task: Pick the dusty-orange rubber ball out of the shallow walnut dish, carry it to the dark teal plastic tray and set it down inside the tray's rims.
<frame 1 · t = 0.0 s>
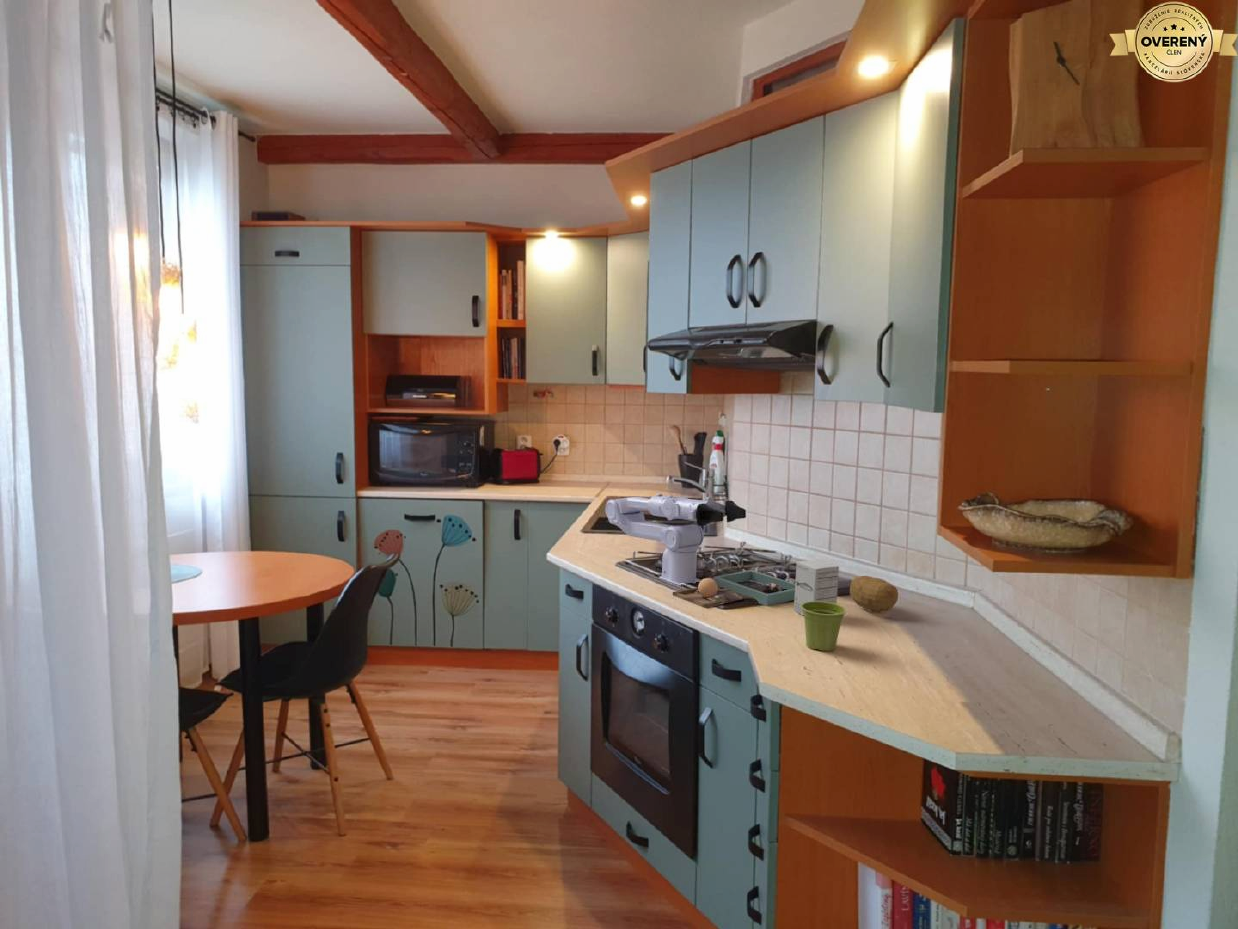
hand: (733, 515, 207), 22 cm above the countertop, tool horizontal, fingers open, 7 cm apart
dish: (707, 599, 209), on the countertop
ball: (707, 597, 209), resting on dish
tray: (758, 593, 215), on the countertop
plant pot: (821, 647, 177), on the countertop
supplement box: (814, 615, 199), on the countertop
potato: (871, 610, 203), on the countertop
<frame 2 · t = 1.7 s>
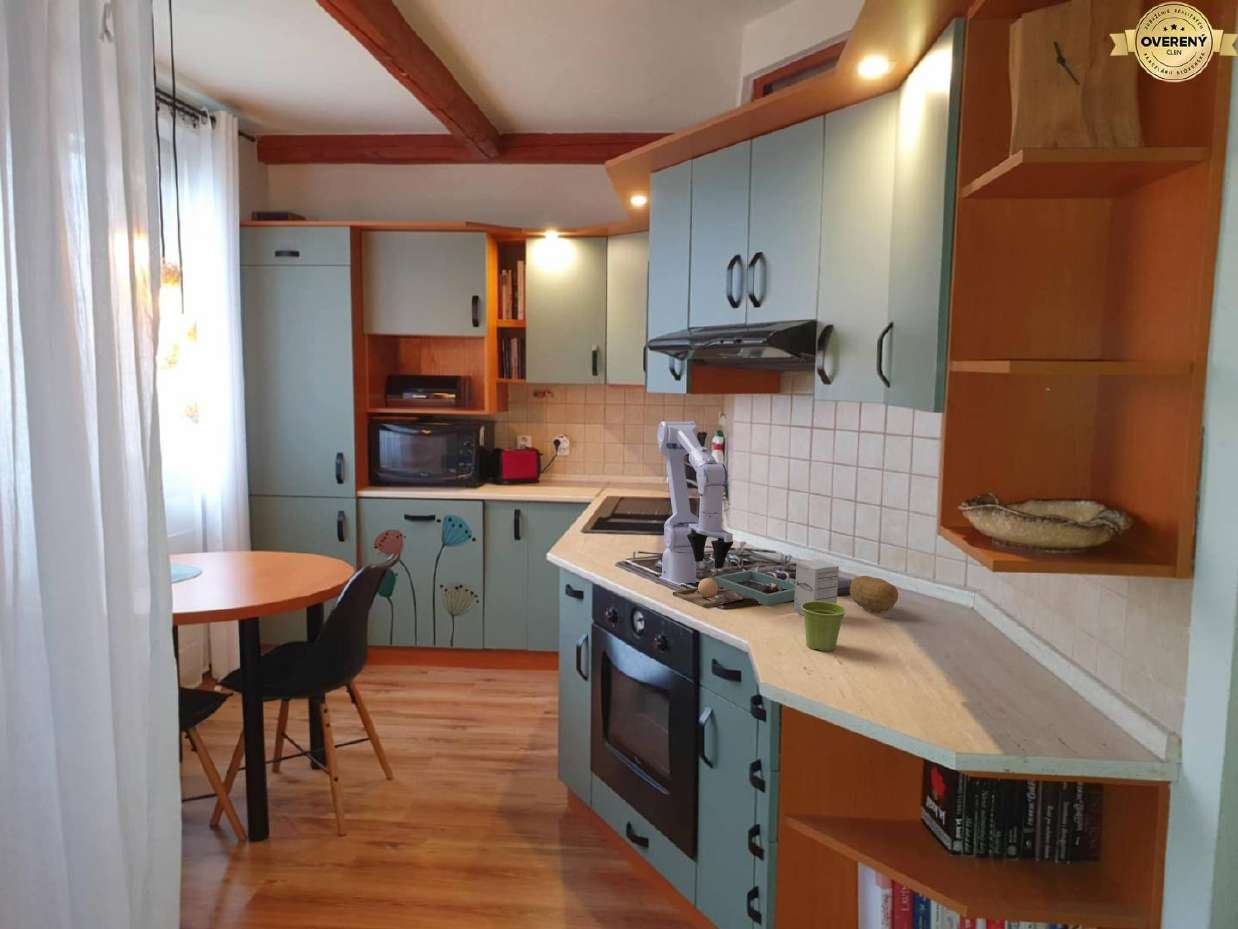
hand: (708, 564, 208), 9 cm above the countertop, tool pointing down, fingers open, 7 cm apart
nothing on the countertop moved.
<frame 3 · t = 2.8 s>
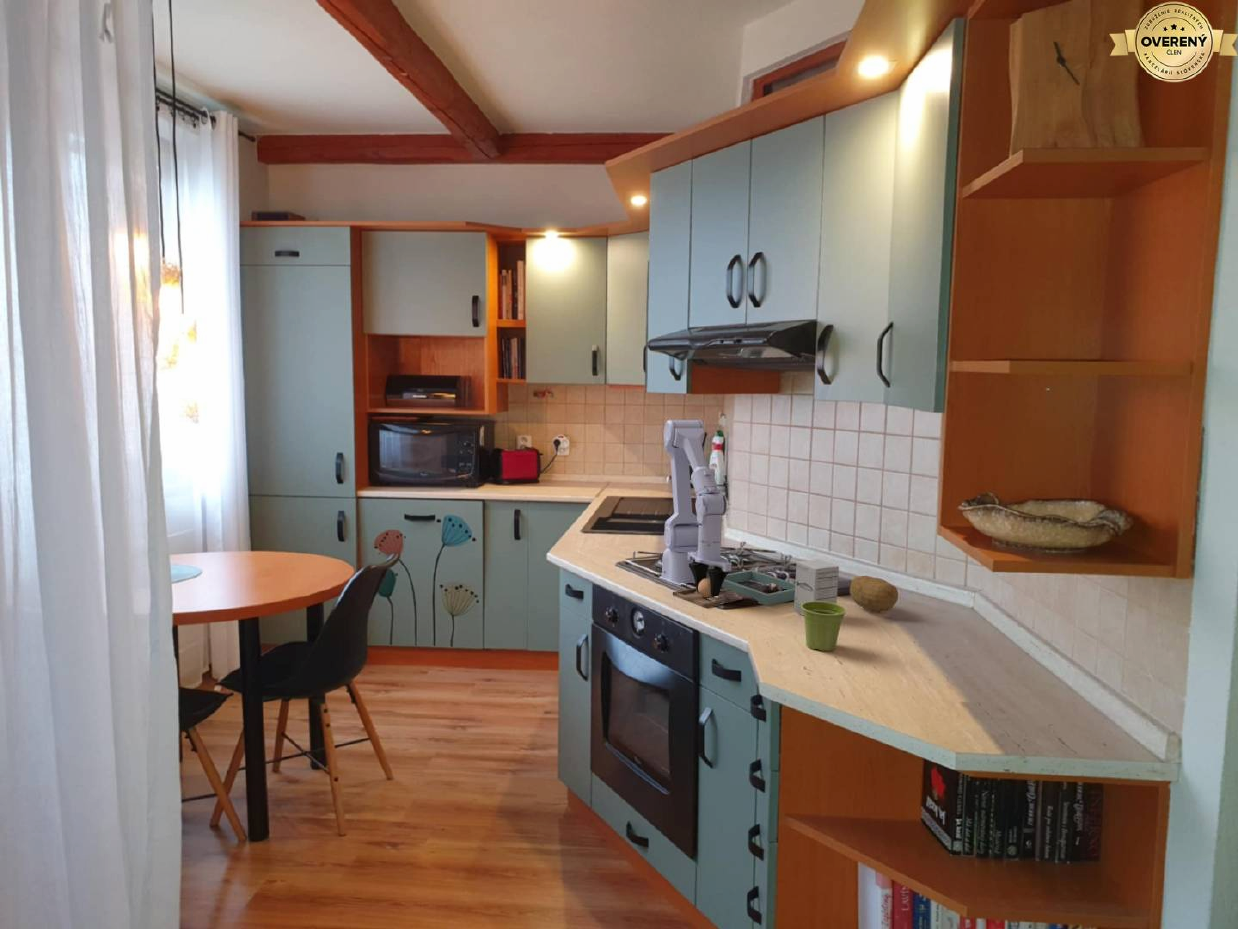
hand: (707, 593, 209), 2 cm above the countertop, tool pointing down, fingers closed on ball, 5 cm apart
ball: (707, 597, 209), resting on dish, touching gripper
everything else where it was.
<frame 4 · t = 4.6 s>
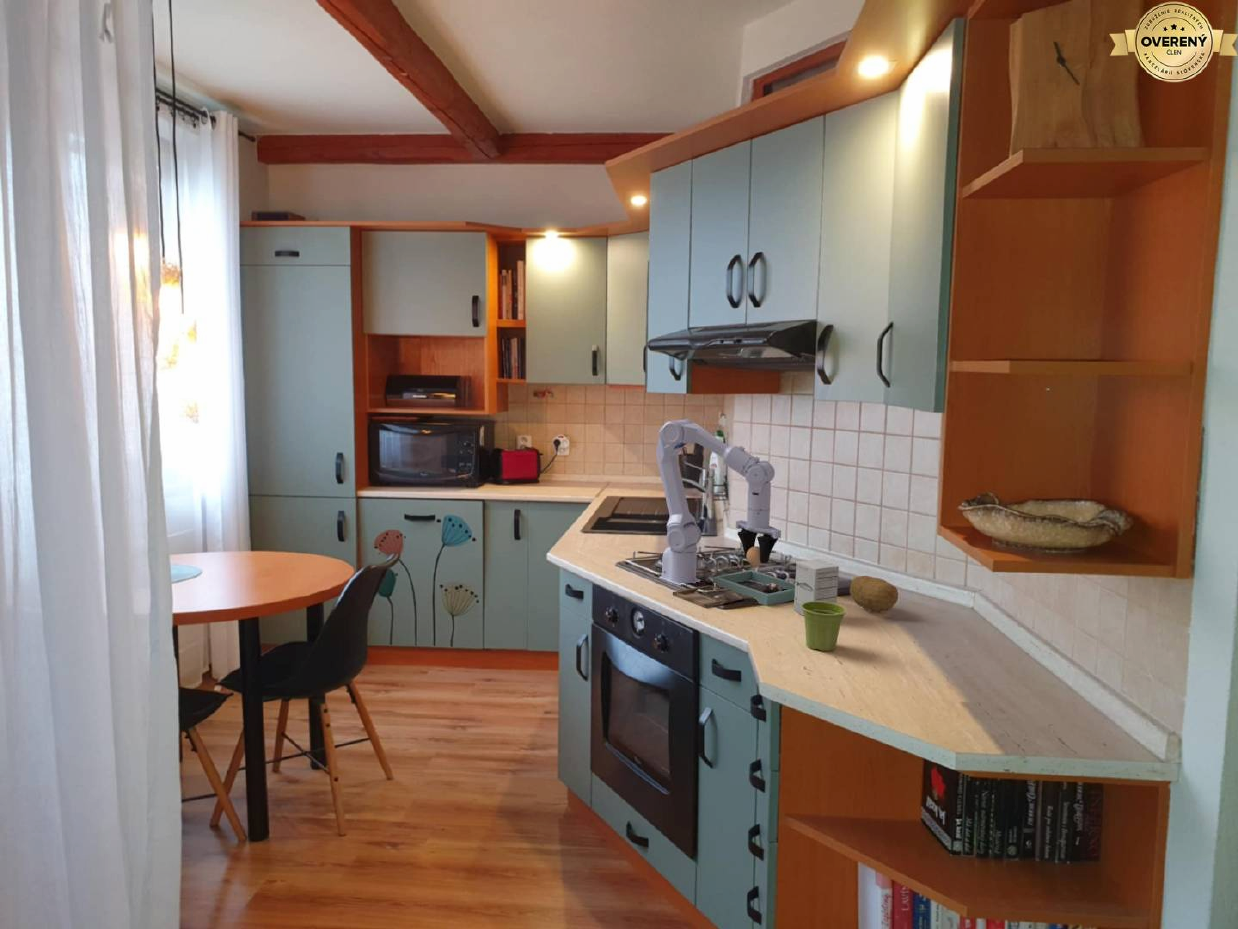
hand: (756, 560, 213), 9 cm above the countertop, tool pointing down, fingers closed on ball, 5 cm apart
ball: (755, 565, 213), point 8 cm above the countertop, touching gripper
everything else where it was.
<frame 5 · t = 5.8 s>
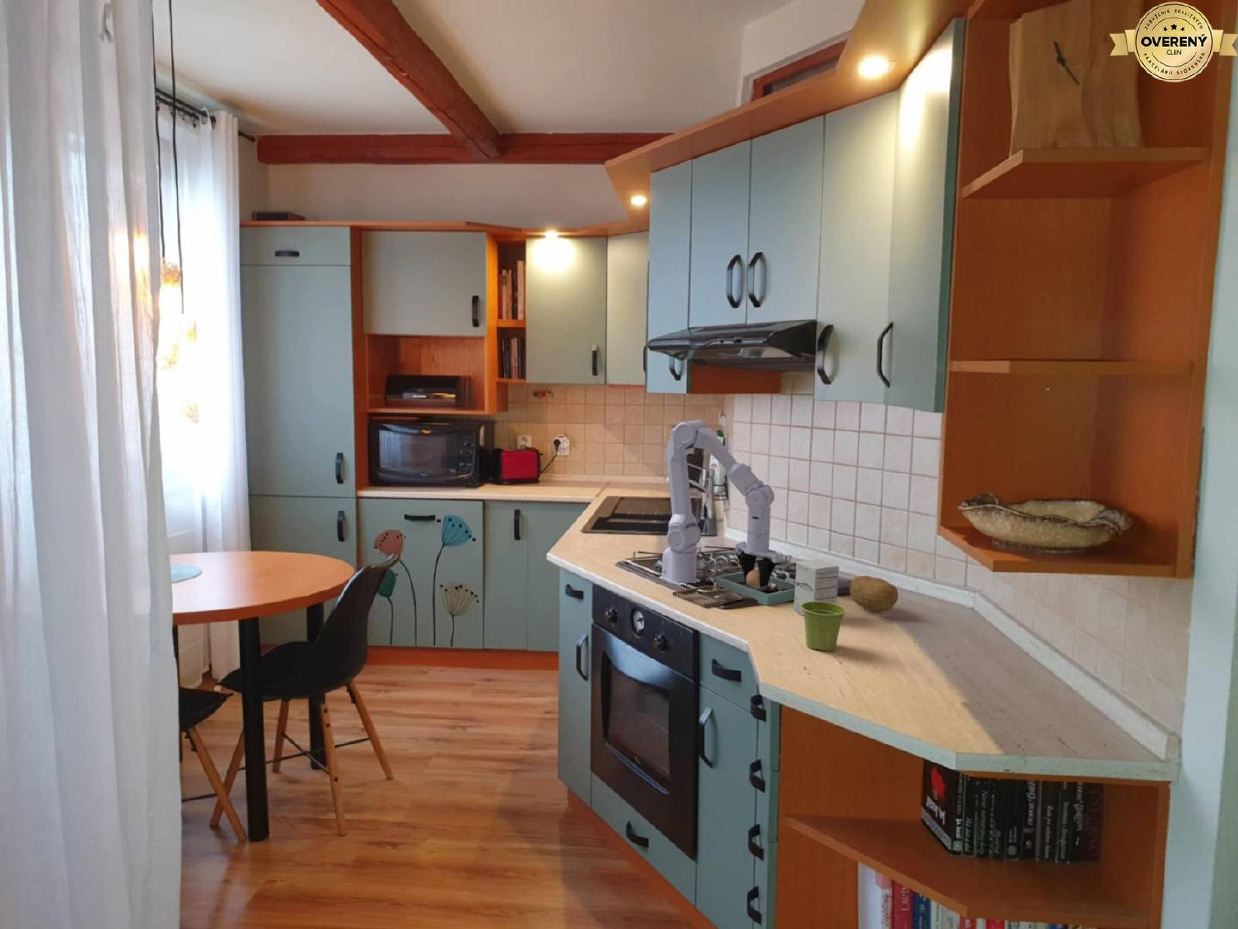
hand: (756, 583, 214), 3 cm above the countertop, tool pointing down, fingers closed on ball, 5 cm apart
ball: (755, 588, 214), point 1 cm above the countertop, touching gripper
everything else where it was.
when the fingers open (3 cm above the countertop, at t = 6.5 s): ball drops 1 cm, resting on tray.
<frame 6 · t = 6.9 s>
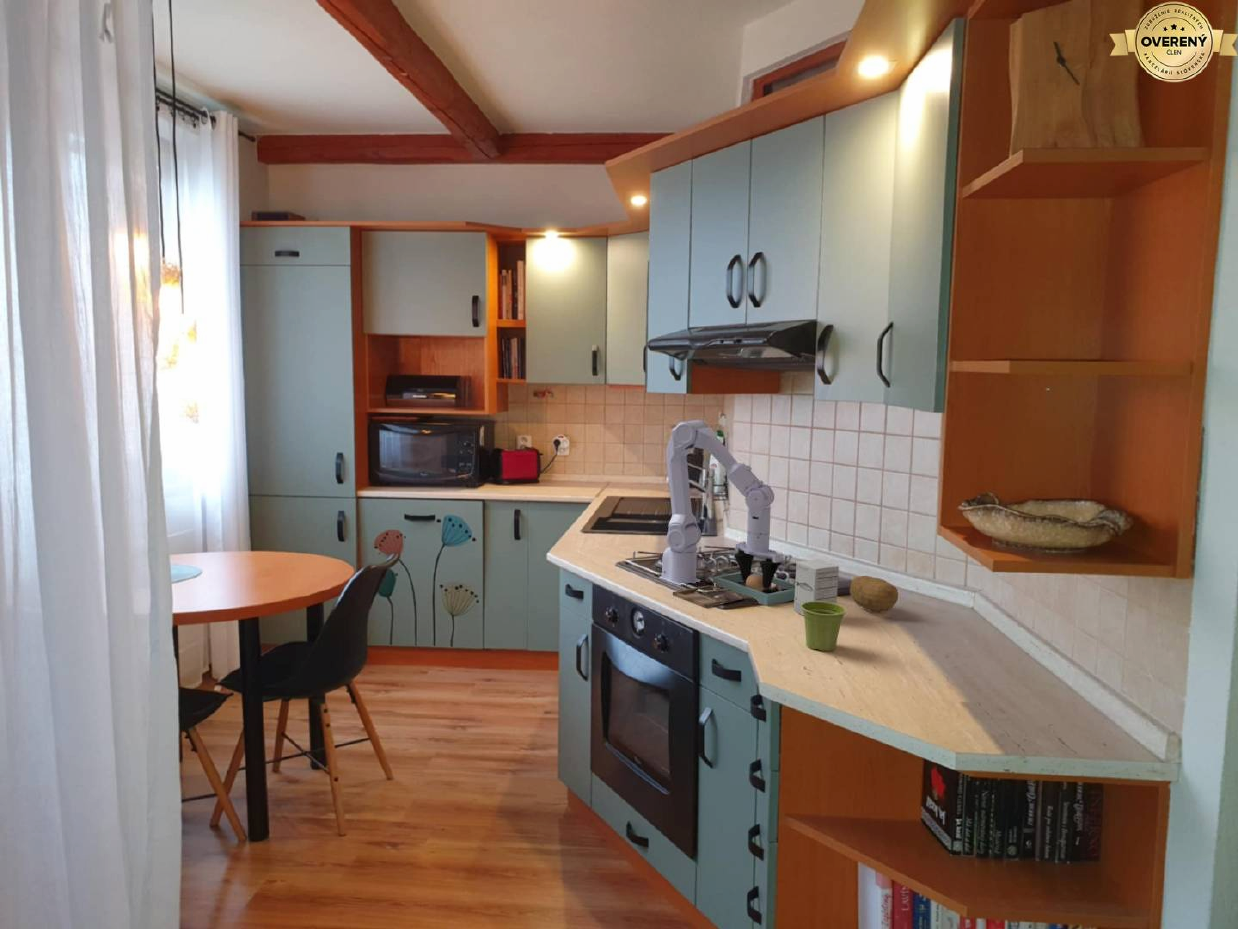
hand: (756, 583, 214), 3 cm above the countertop, tool pointing down, fingers open, 7 cm apart
ball: (755, 592, 215), resting on tray
everything else where it was.
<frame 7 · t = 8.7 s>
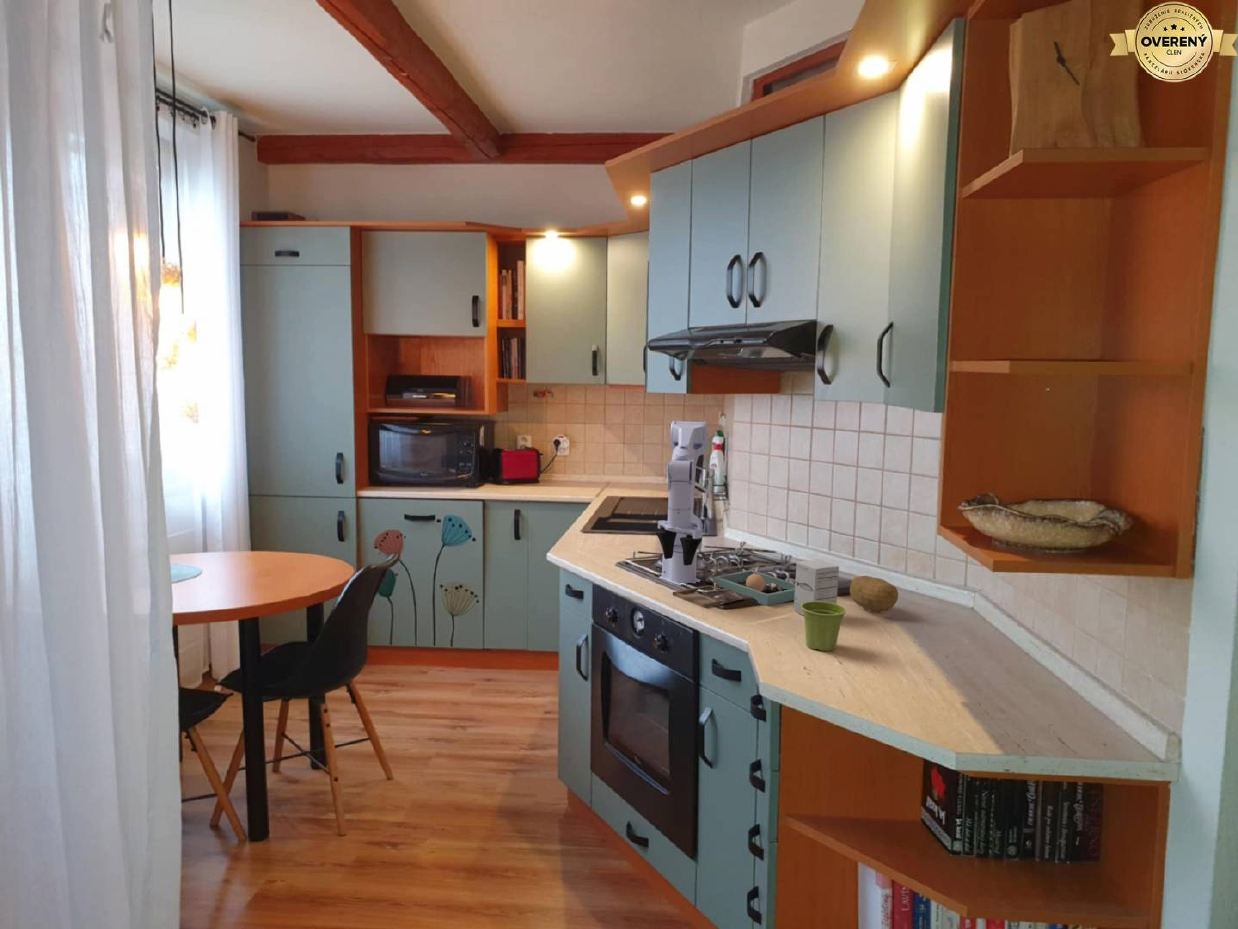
hand: (677, 561, 206), 10 cm above the countertop, tool pointing down, fingers open, 7 cm apart
nothing on the countertop moved.
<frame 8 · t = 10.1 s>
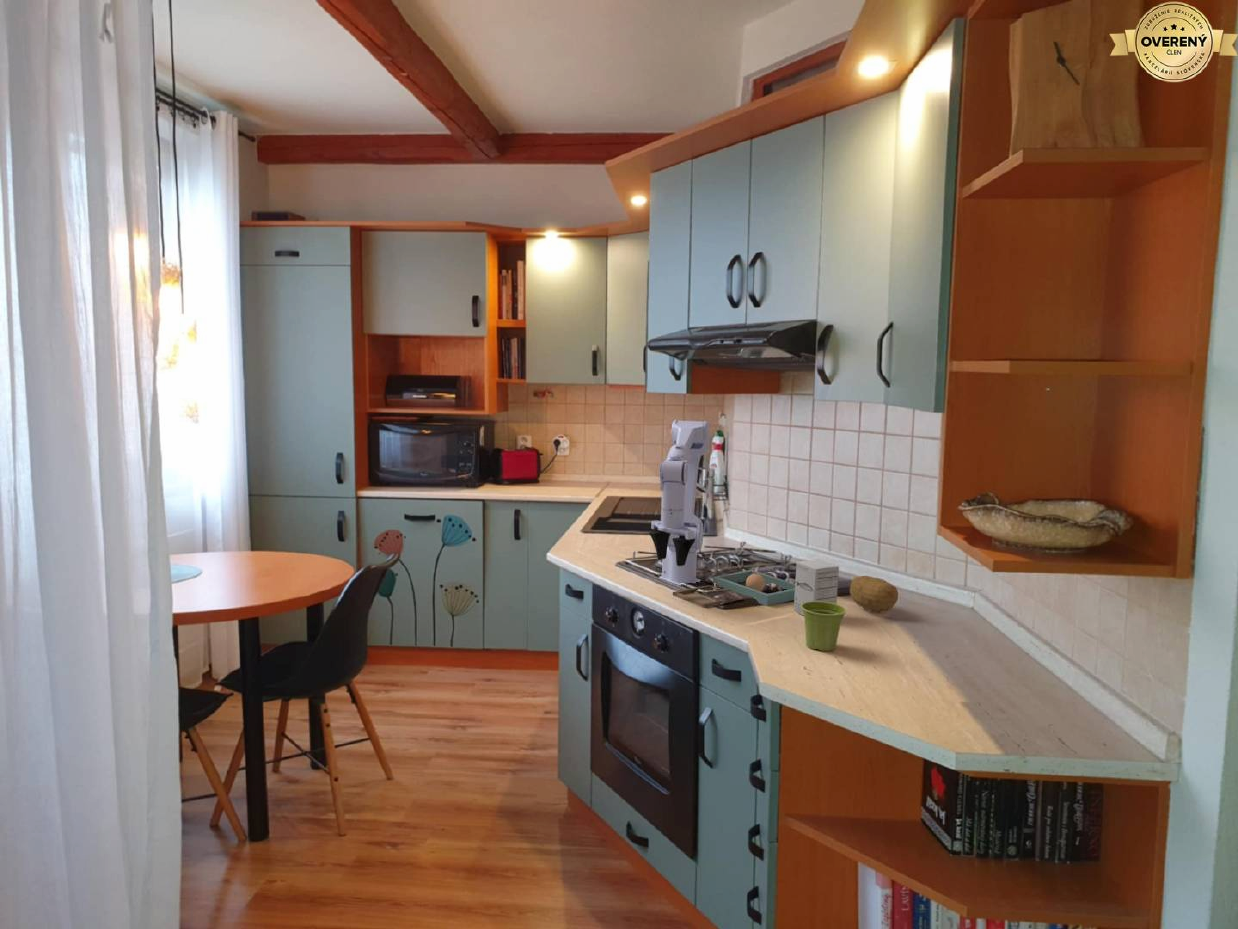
hand: (671, 562, 206), 10 cm above the countertop, tool pointing down, fingers open, 7 cm apart
nothing on the countertop moved.
at the end: ball inside the target area on the tray (1.2 cm from its centre), point 0.3 cm above the tray's base; the gripper is holding nothing; ball touching tray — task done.
